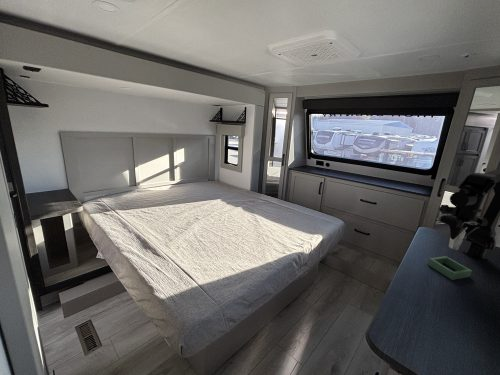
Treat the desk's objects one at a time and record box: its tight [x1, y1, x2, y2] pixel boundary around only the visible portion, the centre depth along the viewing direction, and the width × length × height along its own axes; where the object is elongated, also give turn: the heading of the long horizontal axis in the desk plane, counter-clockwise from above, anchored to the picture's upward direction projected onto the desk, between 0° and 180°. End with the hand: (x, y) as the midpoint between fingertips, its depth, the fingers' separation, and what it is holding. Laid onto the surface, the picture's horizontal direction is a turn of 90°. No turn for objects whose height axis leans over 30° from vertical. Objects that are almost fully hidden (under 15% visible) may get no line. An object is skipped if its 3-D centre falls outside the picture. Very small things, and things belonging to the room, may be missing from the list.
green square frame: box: [426, 255, 473, 281], centre depth 93 cm, size 10×10×3 cm
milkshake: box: [448, 227, 468, 251], centre depth 94 cm, size 5×5×10 cm
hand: (456, 238), depth 94 cm, fingers closed on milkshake, 4 cm apart
